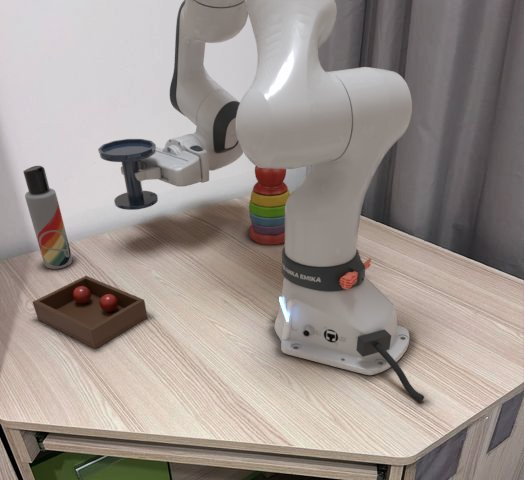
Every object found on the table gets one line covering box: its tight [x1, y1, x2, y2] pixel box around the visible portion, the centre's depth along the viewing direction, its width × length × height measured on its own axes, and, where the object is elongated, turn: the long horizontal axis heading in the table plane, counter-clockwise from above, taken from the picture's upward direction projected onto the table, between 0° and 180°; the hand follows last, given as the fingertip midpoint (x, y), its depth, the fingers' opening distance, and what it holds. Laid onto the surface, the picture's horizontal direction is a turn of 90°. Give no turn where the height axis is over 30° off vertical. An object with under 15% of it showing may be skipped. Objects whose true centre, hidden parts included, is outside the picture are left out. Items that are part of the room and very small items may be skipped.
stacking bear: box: [248, 165, 291, 245], centre depth 117 cm, size 11×10×18 cm
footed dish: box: [97, 138, 159, 211], centre depth 110 cm, size 11×11×11 cm
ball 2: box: [99, 294, 118, 312], centre depth 95 cm, size 3×3×3 cm
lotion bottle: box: [23, 165, 73, 270], centre depth 107 cm, size 6×6×20 cm
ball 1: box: [73, 286, 91, 304], centre depth 97 cm, size 3×3×3 cm
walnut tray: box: [32, 275, 148, 349], centre depth 94 cm, size 16×12×4 cm
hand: (129, 174), depth 110 cm, fingers closed on footed dish, 3 cm apart
